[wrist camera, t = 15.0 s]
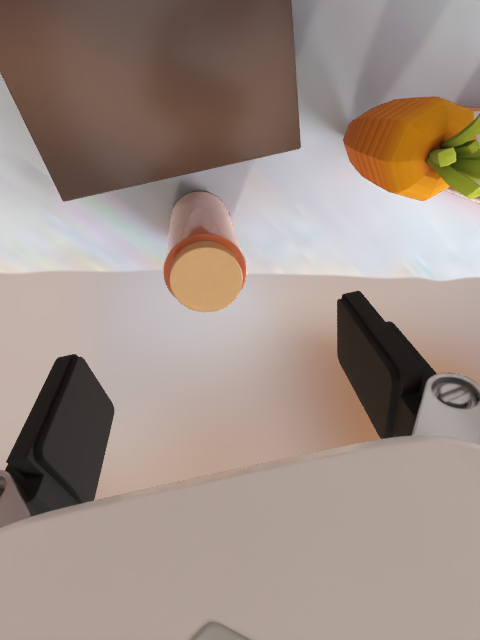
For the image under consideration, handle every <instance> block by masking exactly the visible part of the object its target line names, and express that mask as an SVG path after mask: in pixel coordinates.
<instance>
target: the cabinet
mask: <svg viewBox="0 0 480 640" xmlns="http://www.w3.org/2000/svg"><path fill="white" fill-rule="evenodd" d="M0 72H1V74H2V76H3V78H4V81H5V83H6V85H7V87H8V89H9V91H10V93H11V95H12V97H13V99H14V101H15V103H16V105H17V107H18V109H19V111H20V113H21V116H22V118H23V120H24V122H25V124H26V126H27V128H28V130H29V132H30V134H31V136H32V138H33V140H34V142H35V144H36V146H37V149H38V151H39V153H40V155H41V157H42V159H43V161H44V163H45V165H46V167H47V169H48V171H49V173H50V175H51V177H52V179H53V181H54V184H55V186H56V188H57V190H58V192H59V194H60V196H61V198H62V200H63V201H69V200H74V199H78V198H83V197H87V196H92V195H96V194H100V193H105V192H109V191H114V190H118V189H123V188H127V187H132V186H136V185H141V184H145V183H149V182H154V181H158V180H163V179H167V178H172V177H176V176H181V175H185V174H189V173H194V172H198V171H203V170H207V169H212V168H216V167H221V166H225V165H230V164H234V163H238V162H243V161H247V160H252V159H256V158H261V157H265V156H270V155H274V154H279V153H283V152H287V151H292V150H296V149H300V147H301V144H300V128H299V113H298V98H297V83H296V67H295V52H294V37H293V21H292V6H291V0H0Z"/></svg>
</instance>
